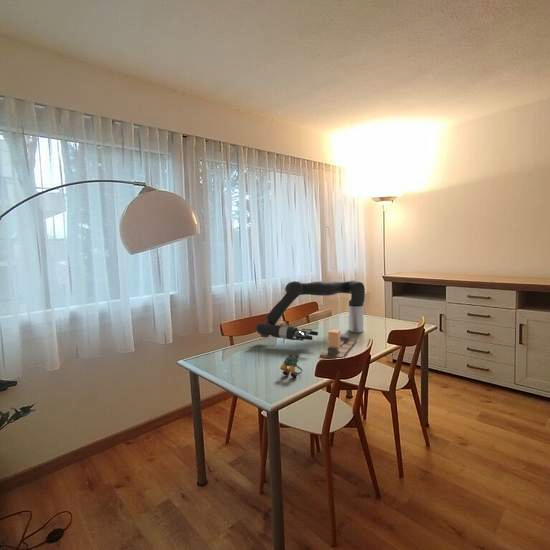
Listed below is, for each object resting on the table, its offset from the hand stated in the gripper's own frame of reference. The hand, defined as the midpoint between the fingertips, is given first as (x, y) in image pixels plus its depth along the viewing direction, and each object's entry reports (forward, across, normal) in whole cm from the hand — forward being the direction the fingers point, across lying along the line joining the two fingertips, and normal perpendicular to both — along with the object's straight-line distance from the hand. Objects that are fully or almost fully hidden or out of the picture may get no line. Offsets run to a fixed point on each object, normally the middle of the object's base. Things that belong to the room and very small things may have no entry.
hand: (315, 335), depth 179 cm
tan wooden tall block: (+11, 0, +6) cm, 13 cm away
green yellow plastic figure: (+1, -34, +9) cm, 36 cm away
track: (+11, +8, +9) cm, 16 cm away
